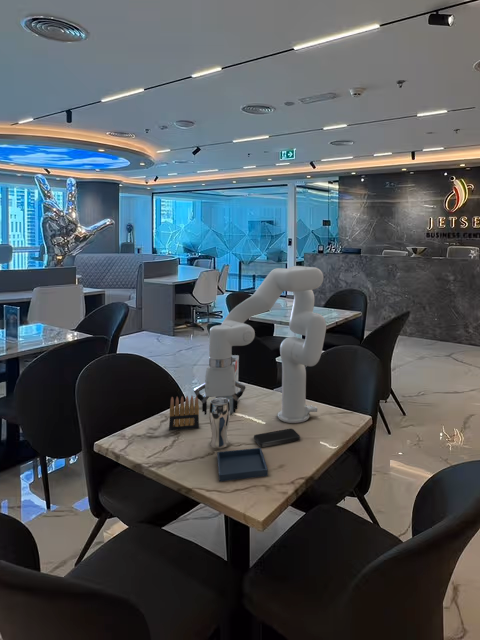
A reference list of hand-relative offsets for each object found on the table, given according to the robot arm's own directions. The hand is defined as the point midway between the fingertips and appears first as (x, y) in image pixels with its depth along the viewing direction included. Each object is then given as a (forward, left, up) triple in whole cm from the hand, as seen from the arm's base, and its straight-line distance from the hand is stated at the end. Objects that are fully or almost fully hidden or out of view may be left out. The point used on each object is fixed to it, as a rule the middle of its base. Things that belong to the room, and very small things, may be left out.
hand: (219, 412), depth 150 cm
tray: (-6, +16, -11) cm, 20 cm away
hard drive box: (-5, -34, -11) cm, 36 cm away
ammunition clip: (+12, -16, -11) cm, 23 cm away
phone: (-20, 0, -11) cm, 23 cm away
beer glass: (0, 0, -11) cm, 11 cm away
